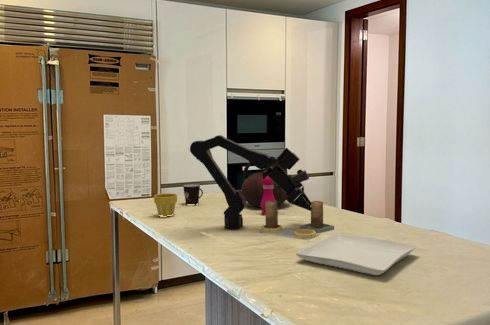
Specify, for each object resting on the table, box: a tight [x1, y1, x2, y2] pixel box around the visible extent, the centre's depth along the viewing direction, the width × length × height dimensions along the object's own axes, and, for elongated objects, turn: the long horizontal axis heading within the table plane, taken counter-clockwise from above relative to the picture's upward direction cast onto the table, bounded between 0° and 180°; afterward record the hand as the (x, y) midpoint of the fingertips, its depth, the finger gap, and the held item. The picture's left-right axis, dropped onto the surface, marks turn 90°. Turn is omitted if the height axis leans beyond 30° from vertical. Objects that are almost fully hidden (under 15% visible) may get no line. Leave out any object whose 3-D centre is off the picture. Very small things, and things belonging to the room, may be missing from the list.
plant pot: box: [153, 192, 178, 216], centre depth 197 cm, size 10×10×10 cm
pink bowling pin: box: [260, 176, 276, 216], centre depth 196 cm, size 7×7×20 cm
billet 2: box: [310, 200, 324, 229], centre depth 163 cm, size 5×5×11 cm
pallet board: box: [256, 224, 320, 243], centre depth 158 cm, size 22×9×3 cm, turn 51°
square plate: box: [295, 233, 417, 276], centre depth 131 cm, size 27×27×4 cm
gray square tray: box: [299, 222, 335, 234], centre depth 163 cm, size 9×9×2 cm
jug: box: [240, 161, 289, 208], centre depth 216 cm, size 25×25×25 cm
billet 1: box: [264, 200, 279, 228], centre depth 162 cm, size 5×5×11 cm
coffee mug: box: [182, 183, 204, 205], centre depth 223 cm, size 12×9×10 cm
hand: (311, 207), depth 163 cm, fingers open, 9 cm apart
